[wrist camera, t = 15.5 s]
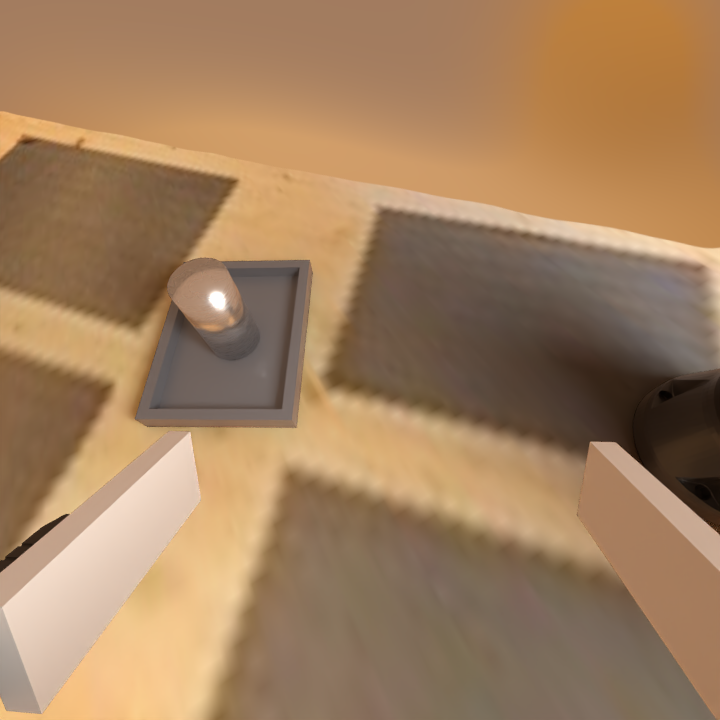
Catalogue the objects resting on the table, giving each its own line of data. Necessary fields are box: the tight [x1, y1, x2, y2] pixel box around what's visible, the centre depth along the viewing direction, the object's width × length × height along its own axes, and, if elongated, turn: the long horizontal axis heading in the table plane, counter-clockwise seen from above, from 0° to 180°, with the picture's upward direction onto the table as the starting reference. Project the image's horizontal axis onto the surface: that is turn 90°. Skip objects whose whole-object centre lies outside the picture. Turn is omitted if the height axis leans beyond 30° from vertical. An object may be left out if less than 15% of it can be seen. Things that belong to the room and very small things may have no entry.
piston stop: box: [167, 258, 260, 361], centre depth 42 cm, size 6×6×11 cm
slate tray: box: [135, 260, 313, 428], centre depth 47 cm, size 17×22×2 cm
